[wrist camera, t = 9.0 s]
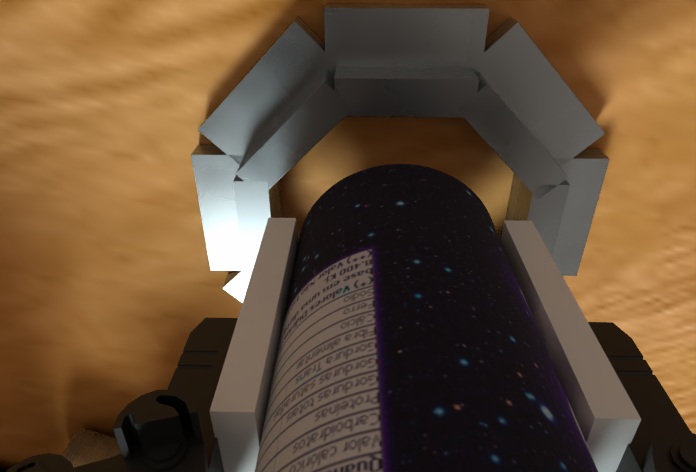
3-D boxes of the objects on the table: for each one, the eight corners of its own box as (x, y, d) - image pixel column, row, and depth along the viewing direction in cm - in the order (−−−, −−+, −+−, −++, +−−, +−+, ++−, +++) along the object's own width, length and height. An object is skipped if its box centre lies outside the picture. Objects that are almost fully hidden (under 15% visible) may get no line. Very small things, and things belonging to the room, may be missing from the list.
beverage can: (351, 330, 18) (337, 878, 8) (267, 198, 15) (80, 761, 5) (512, 273, 17) (753, 850, 6) (450, 117, 14) (690, 670, 4)
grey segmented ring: (131, 203, 18) (106, 234, 16) (410, -111, 13) (417, -115, 11) (384, 391, 22) (385, 431, 21) (662, 210, 17) (694, 242, 16)
